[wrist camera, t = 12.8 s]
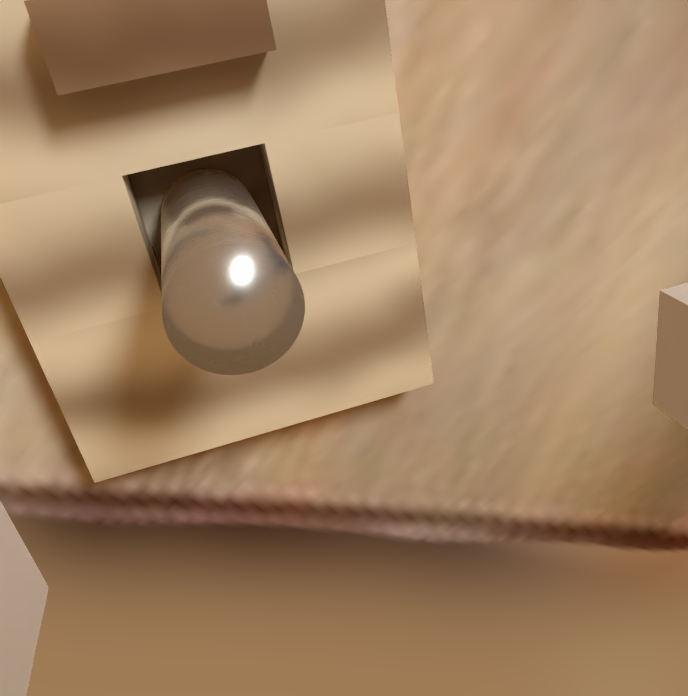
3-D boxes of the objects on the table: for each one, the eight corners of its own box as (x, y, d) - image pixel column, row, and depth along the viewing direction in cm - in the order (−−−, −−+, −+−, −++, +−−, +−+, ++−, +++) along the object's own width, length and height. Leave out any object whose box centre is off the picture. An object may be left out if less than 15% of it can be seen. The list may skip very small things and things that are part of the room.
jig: (-109, -14, 24) (-160, -22, 20) (353, -97, 27) (386, -119, 23) (98, 454, 35) (91, 508, 31) (417, 362, 37) (448, 402, 33)
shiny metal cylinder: (148, 180, 29) (142, 264, 19) (243, 158, 30) (288, 227, 20) (176, 270, 31) (185, 390, 21) (265, 248, 32) (317, 354, 22)
